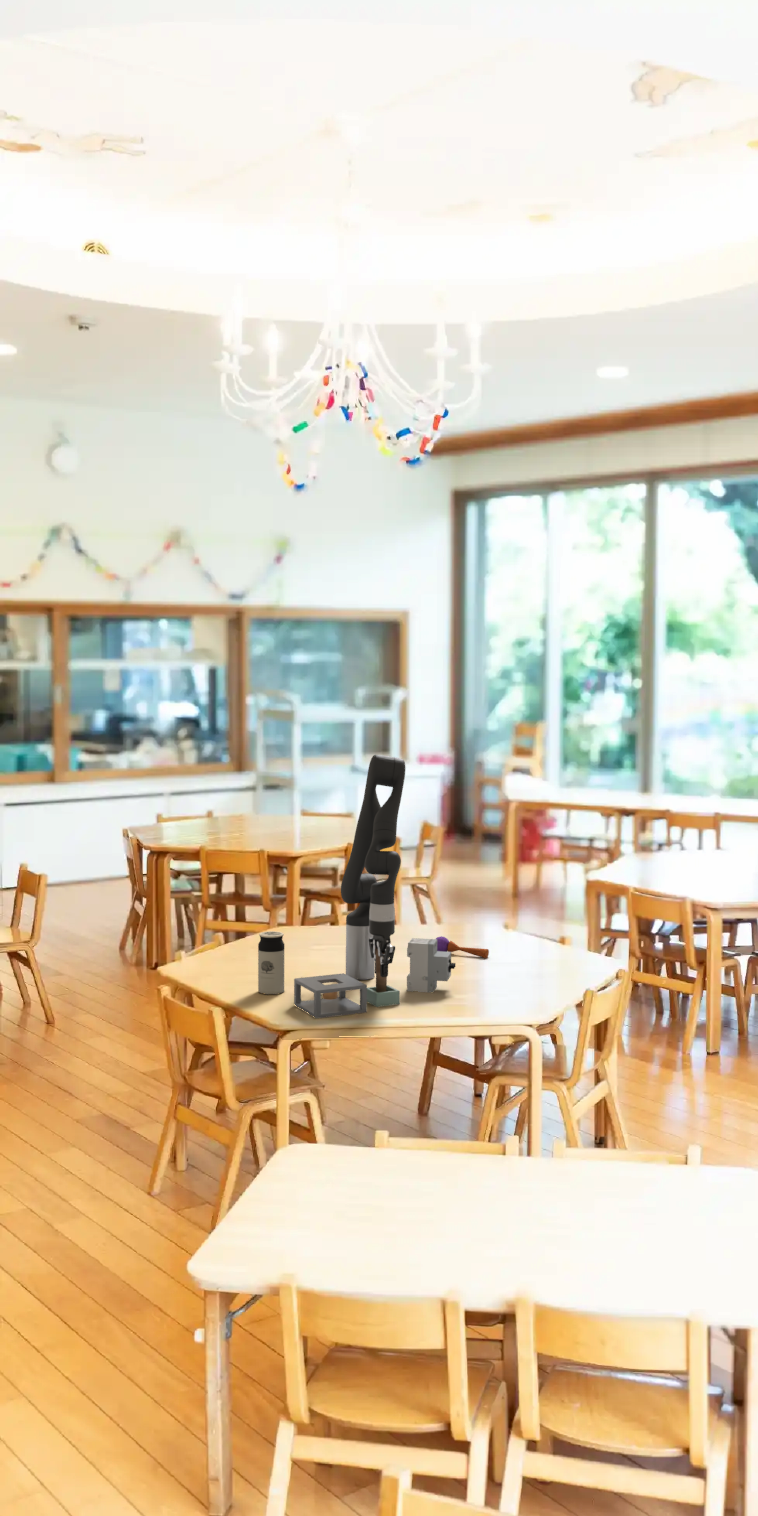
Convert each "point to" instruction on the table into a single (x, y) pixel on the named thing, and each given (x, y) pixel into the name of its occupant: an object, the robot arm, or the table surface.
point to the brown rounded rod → (380, 981)
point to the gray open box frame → (334, 1006)
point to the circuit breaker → (427, 965)
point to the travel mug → (271, 963)
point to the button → (330, 995)
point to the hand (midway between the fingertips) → (381, 975)
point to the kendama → (459, 948)
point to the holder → (383, 996)
